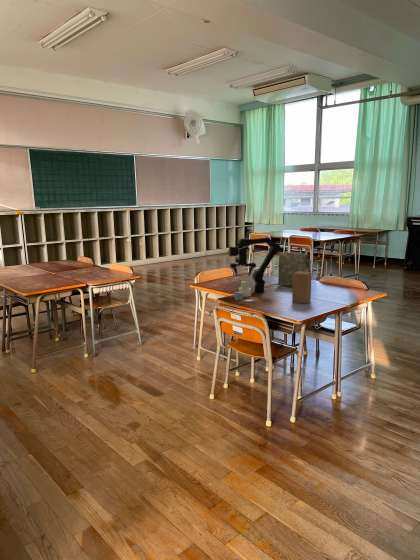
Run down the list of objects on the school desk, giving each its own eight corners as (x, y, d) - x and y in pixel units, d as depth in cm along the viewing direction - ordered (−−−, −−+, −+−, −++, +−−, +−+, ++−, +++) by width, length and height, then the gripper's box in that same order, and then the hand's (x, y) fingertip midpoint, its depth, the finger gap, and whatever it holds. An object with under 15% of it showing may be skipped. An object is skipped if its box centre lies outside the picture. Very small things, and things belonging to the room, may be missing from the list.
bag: (310, 285, 330) (312, 251, 325) (303, 289, 317) (304, 253, 312) (284, 282, 343) (285, 249, 337) (276, 286, 330) (277, 251, 324)
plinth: (250, 294, 304) (250, 287, 303) (250, 296, 296) (250, 289, 295) (239, 294, 304) (239, 287, 303) (239, 296, 296) (239, 289, 295)
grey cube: (241, 298, 291) (241, 291, 290) (242, 299, 286) (242, 292, 285) (234, 298, 291) (234, 291, 290) (235, 300, 286) (235, 293, 285)
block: (306, 304, 272) (307, 274, 268) (291, 302, 277) (292, 273, 273) (310, 301, 281) (312, 272, 277) (296, 299, 286) (297, 270, 282)
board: (253, 299, 286) (253, 299, 286) (255, 301, 280) (256, 301, 280) (242, 300, 285) (242, 299, 285) (244, 302, 279) (244, 301, 279)
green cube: (247, 287, 302) (247, 281, 301) (249, 289, 297) (249, 282, 296) (240, 288, 301) (240, 281, 300) (242, 289, 296) (242, 282, 295)
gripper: (252, 254, 311) (252, 274, 314) (228, 254, 309) (228, 275, 312) (256, 255, 301) (256, 277, 304) (231, 256, 298) (231, 278, 301)
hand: (242, 276), depth 305 cm, fingers open, 9 cm apart
